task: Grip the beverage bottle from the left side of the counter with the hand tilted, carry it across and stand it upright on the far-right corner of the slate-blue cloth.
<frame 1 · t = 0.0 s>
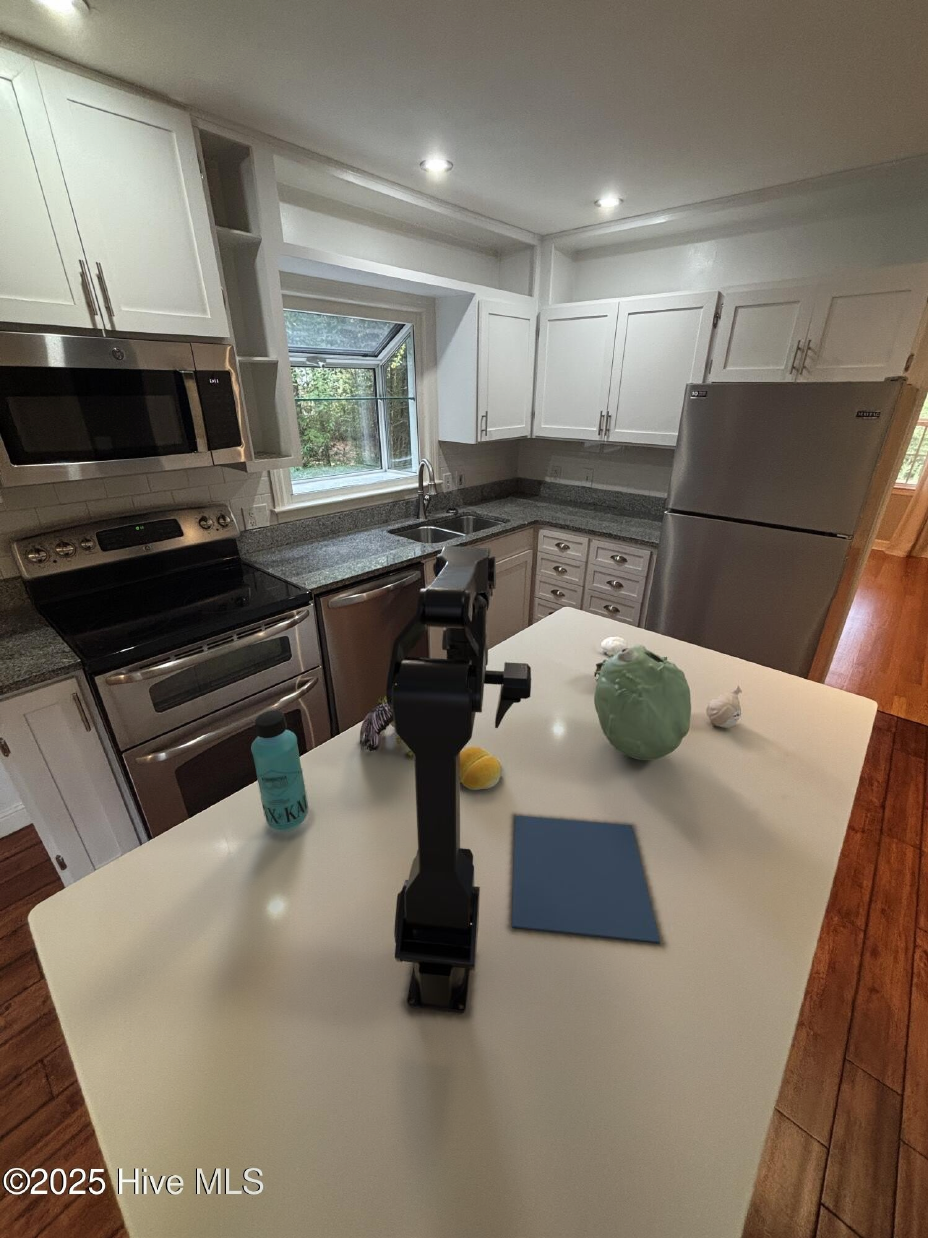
hand: (466, 724, 76), 15 cm above the counter, tool pointing down, fingers open, 9 cm apart
cabbage: (633, 749, 94), on the counter
decorative flower: (395, 746, 95), on the counter
pottery mug: (620, 689, 113), on the counter
beverage bottle: (289, 823, 78), on the counter
garlic bulb: (720, 724, 101), on the counter
cloth: (577, 871, 70), on the counter
bread roll: (475, 774, 88), on the counter
dumpling: (612, 653, 128), on the counter
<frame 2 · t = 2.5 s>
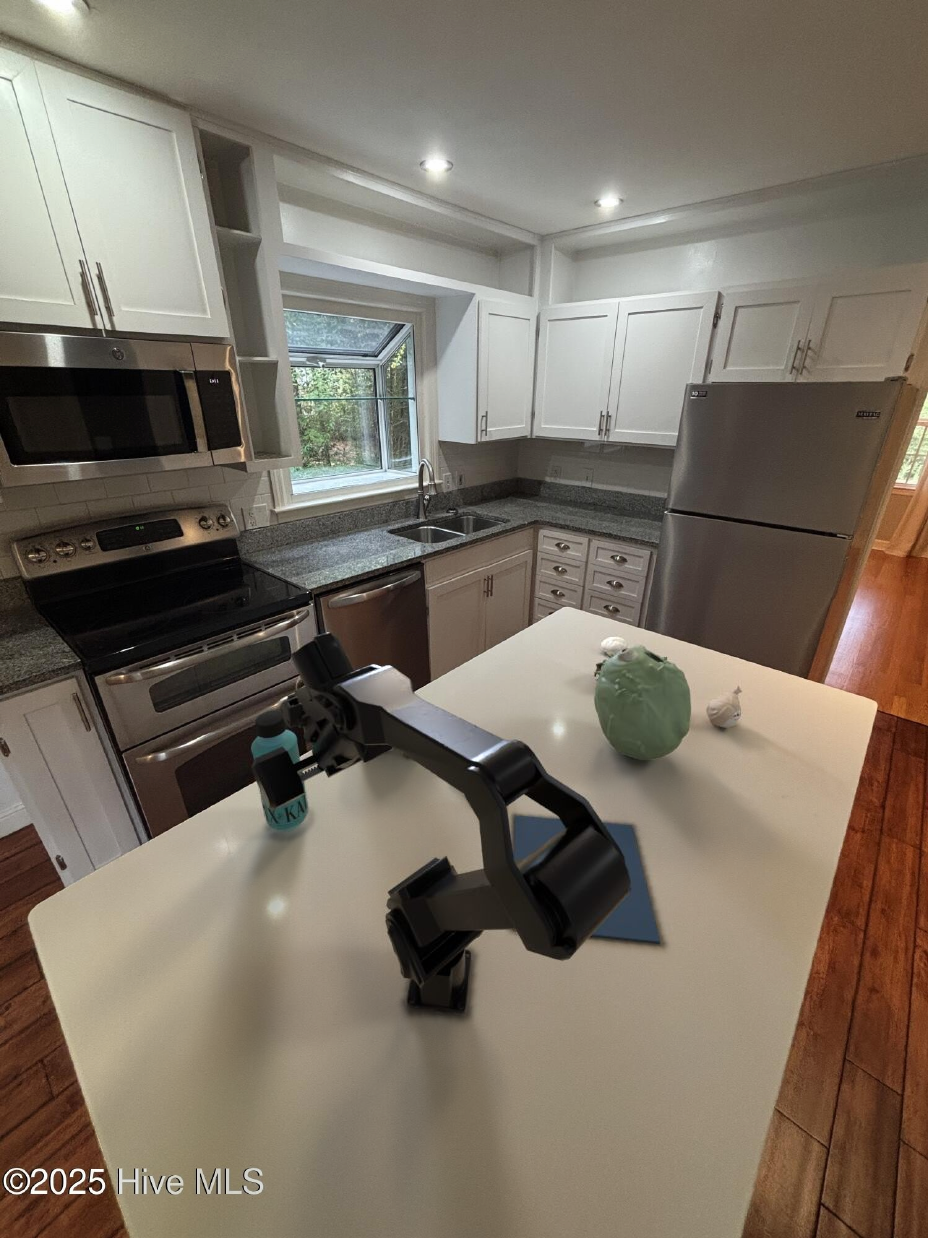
hand: (320, 769, 69), 14 cm above the counter, tool tilted 40°, fingers open, 9 cm apart
nothing on the counter moved.
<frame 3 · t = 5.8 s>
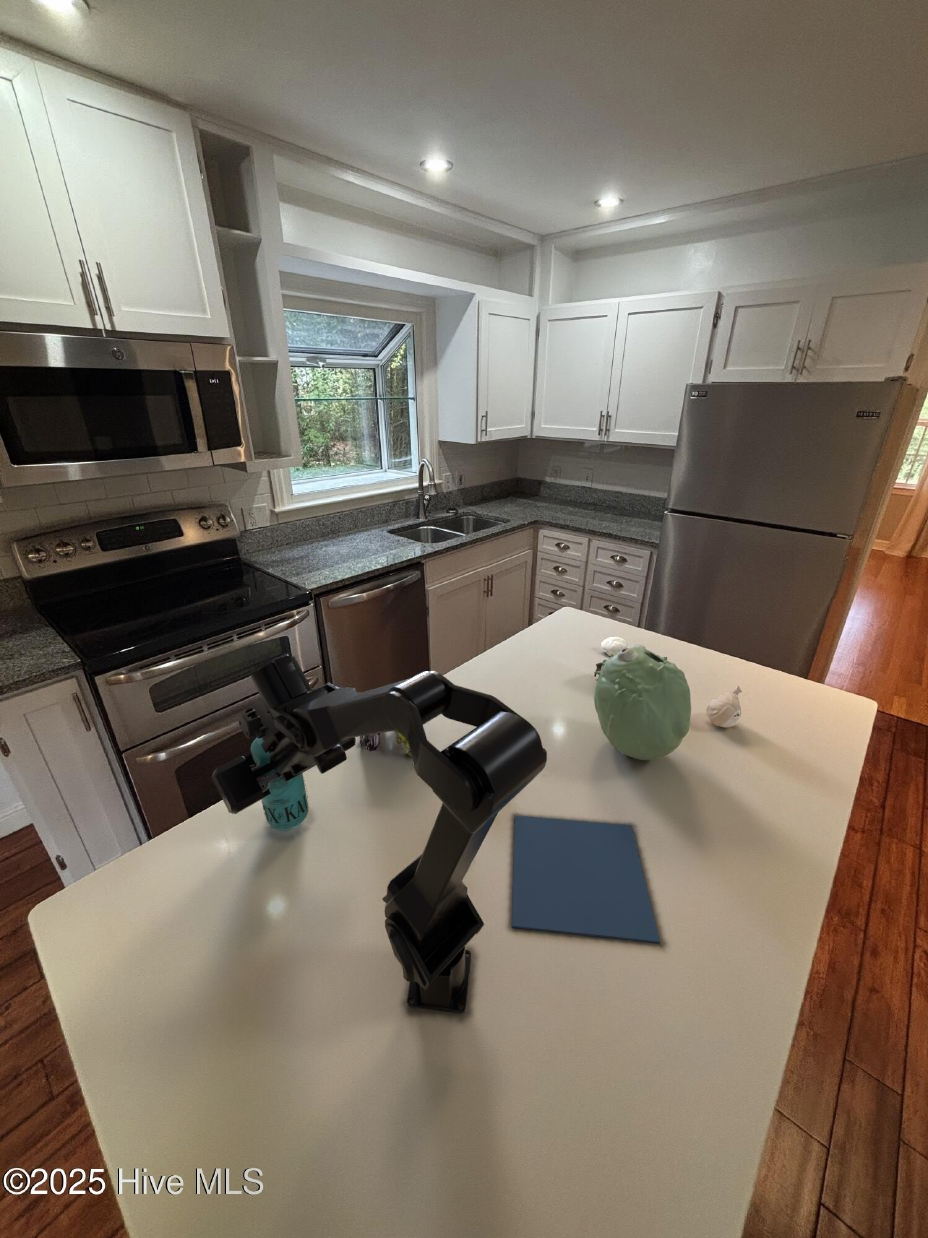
hand: (275, 770, 75), 10 cm above the counter, tool tilted 45°, fingers closed on beverage bottle, 6 cm apart
beverage bottle: (290, 823, 78), on the counter, touching gripper
everything else where it was.
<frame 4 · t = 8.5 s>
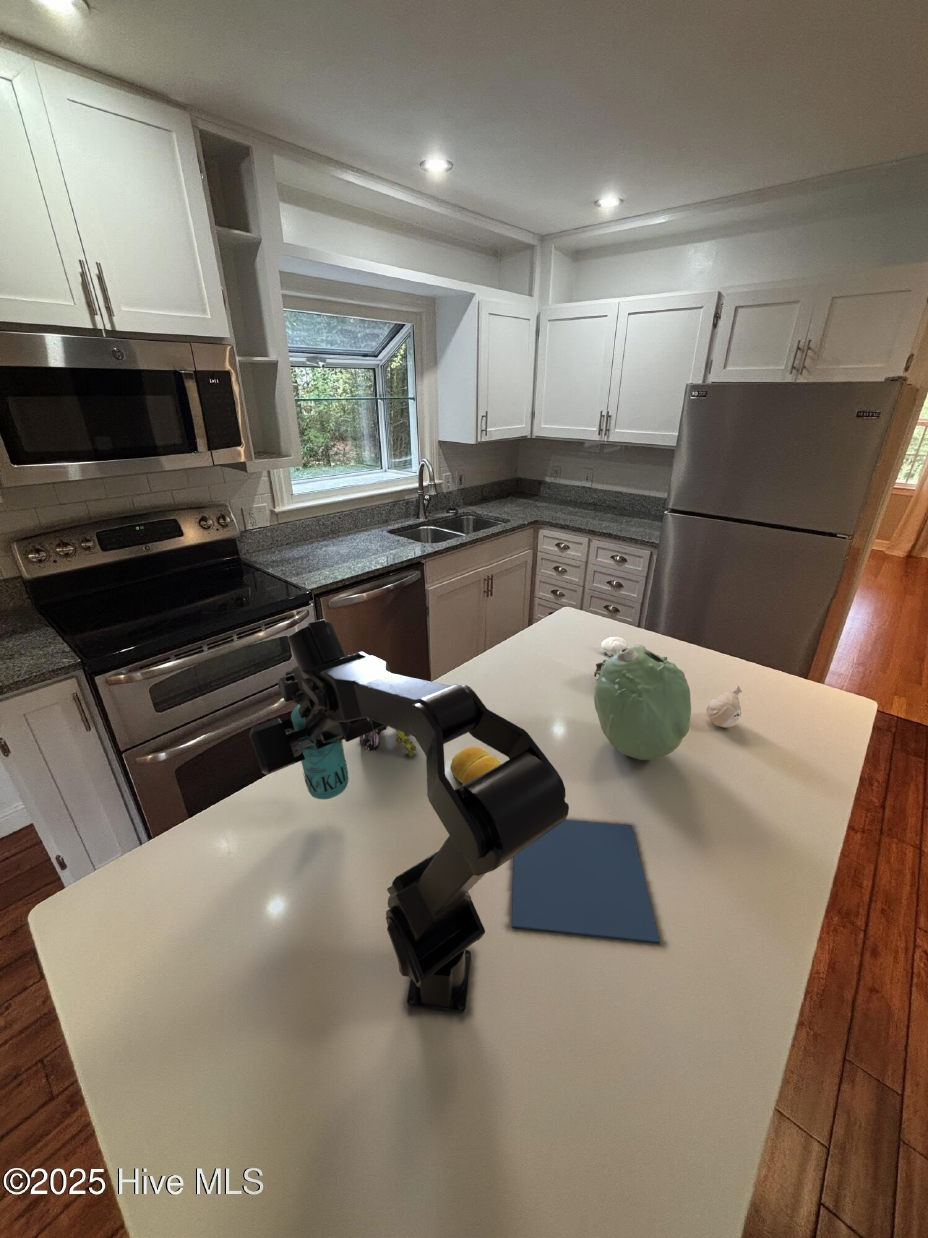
hand: (315, 739, 75), 13 cm above the counter, tool tilted 45°, fingers closed on beverage bottle, 6 cm apart
beverage bottle: (331, 793, 78), point 4 cm above the counter, touching gripper
everything else where it was.
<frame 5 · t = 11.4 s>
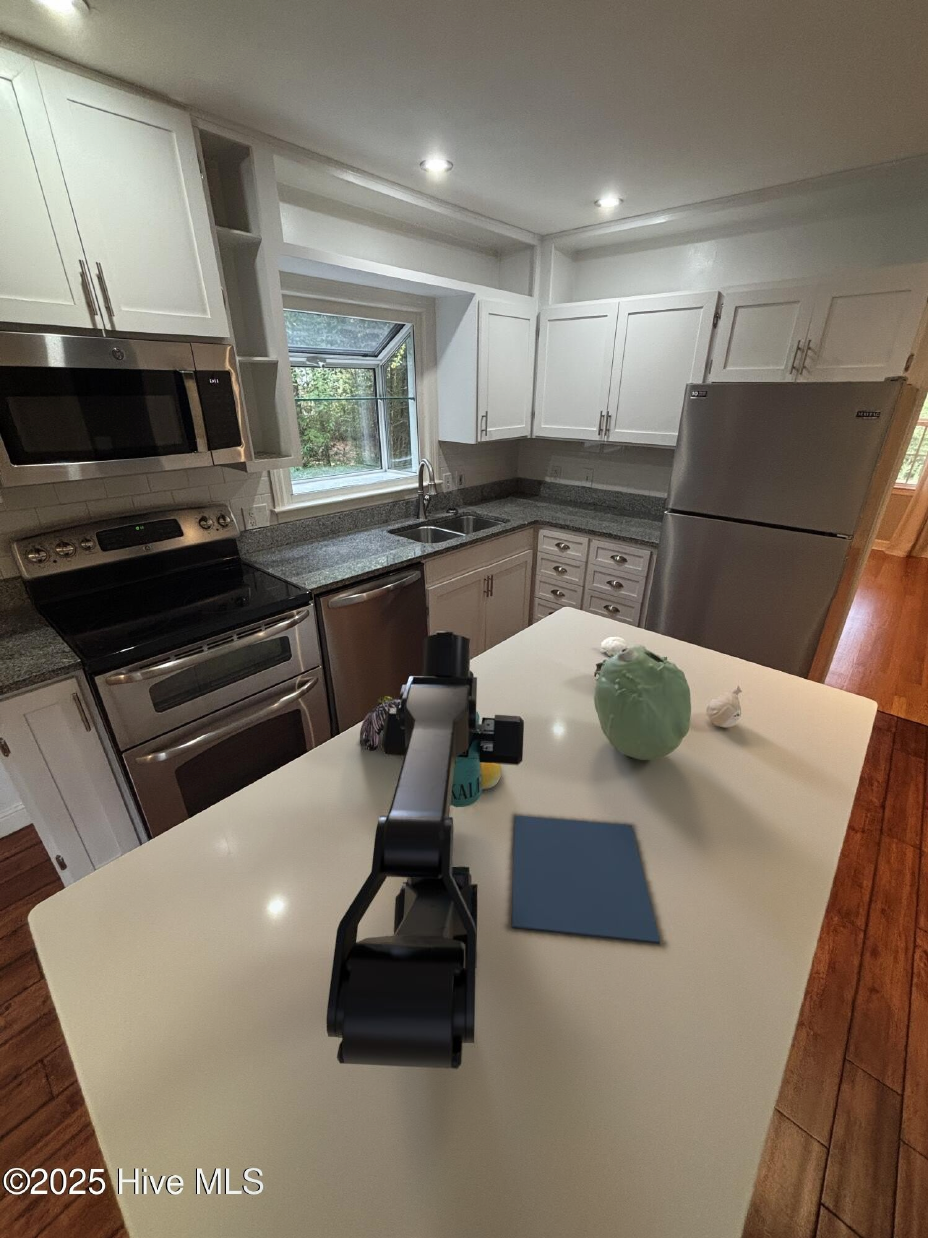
hand: (459, 744, 74), 13 cm above the counter, tool tilted 45°, fingers closed on beverage bottle, 6 cm apart
beverage bottle: (462, 801, 77), point 4 cm above the counter, touching gripper
everything else where it was.
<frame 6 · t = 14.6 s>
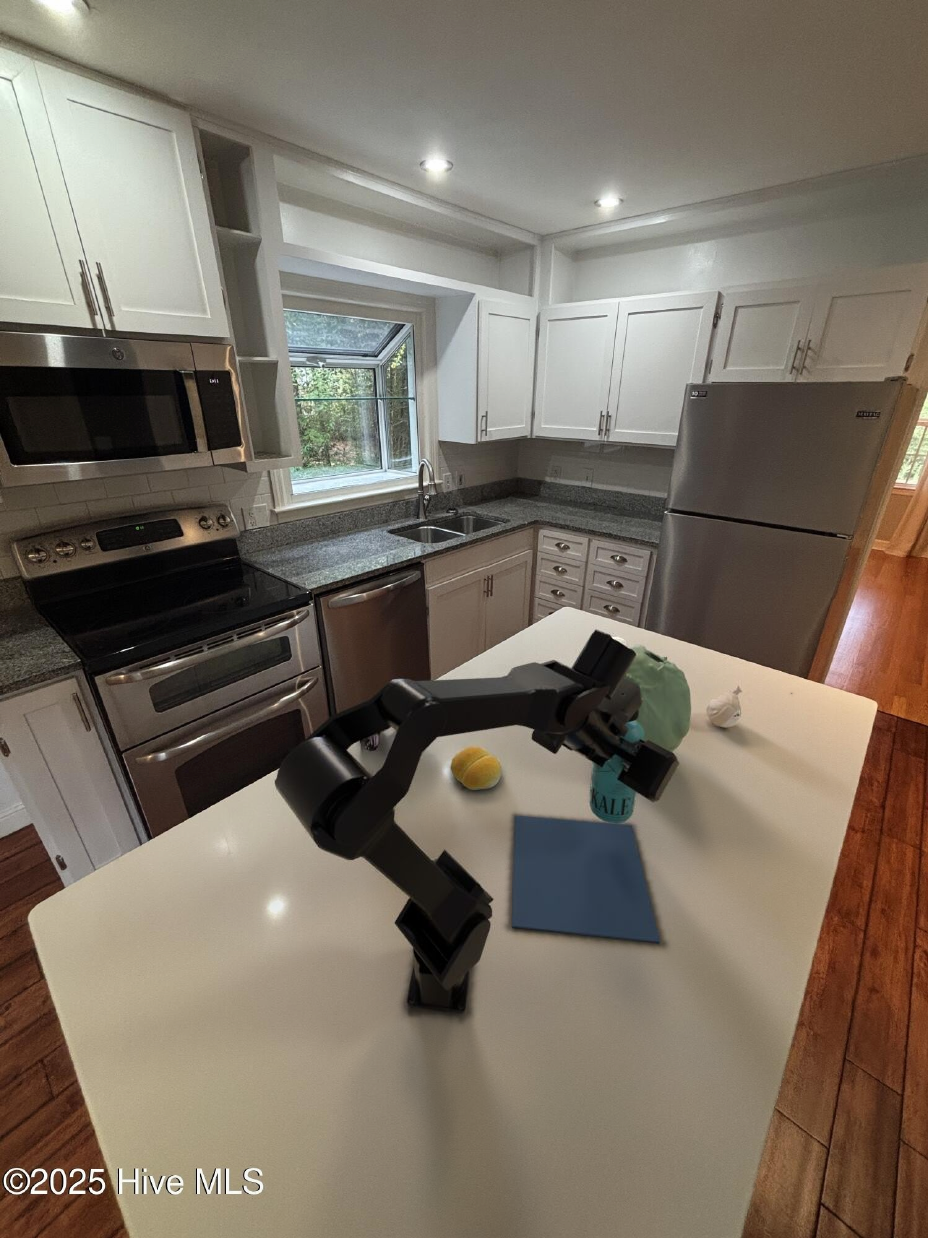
hand: (620, 758, 71), 13 cm above the counter, tool tilted 45°, fingers closed on beverage bottle, 6 cm apart
beverage bottle: (609, 817, 74), point 4 cm above the counter, touching gripper
everything else where it was.
when the fingers open (10 cm above the counter, at t = 17.2 s): beverage bottle stays where it is, resting on cloth.
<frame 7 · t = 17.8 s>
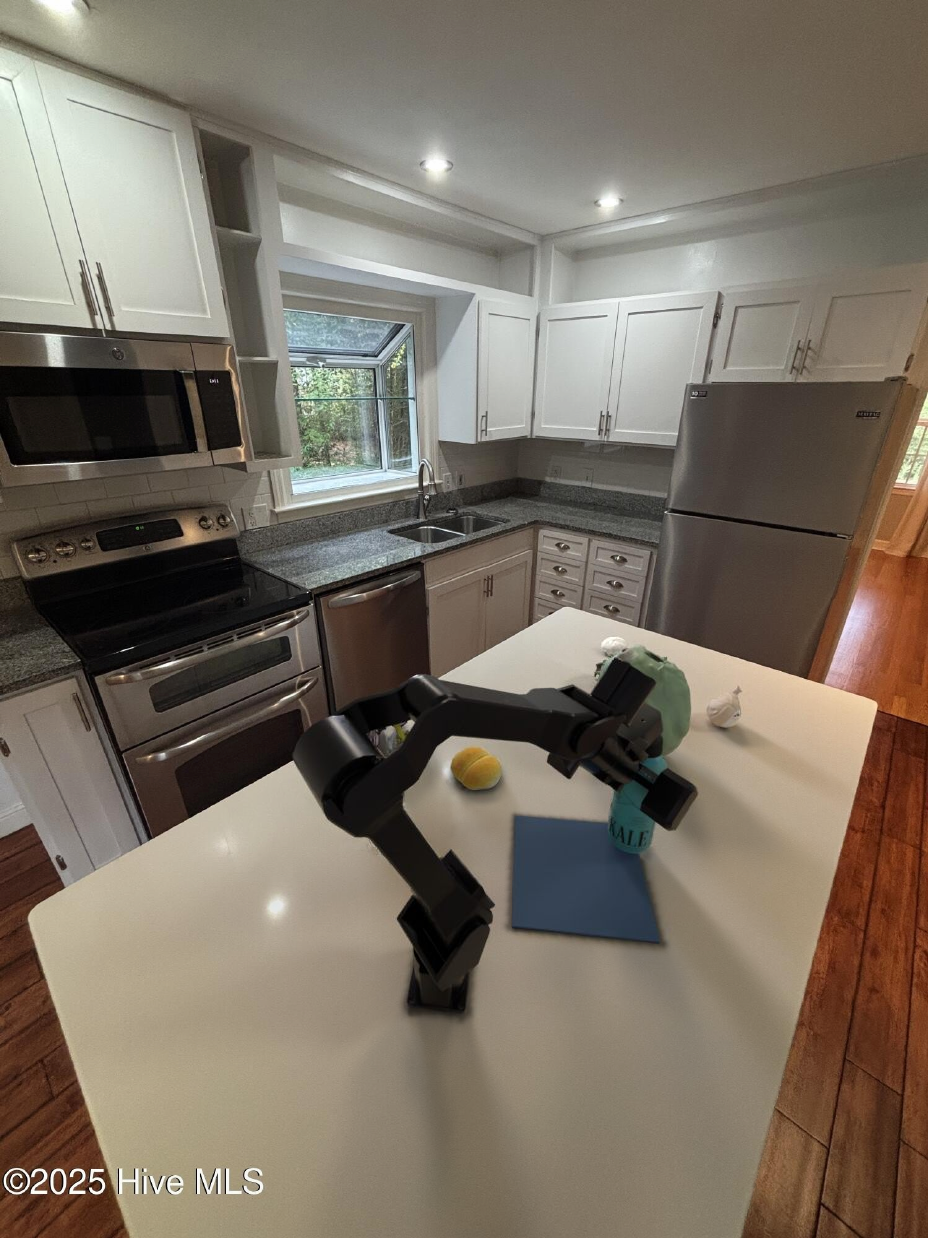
hand: (641, 782, 71), 11 cm above the counter, tool tilted 45°, fingers open, 9 cm apart
beverage bottle: (627, 845, 74), resting on cloth
everything else where it was.
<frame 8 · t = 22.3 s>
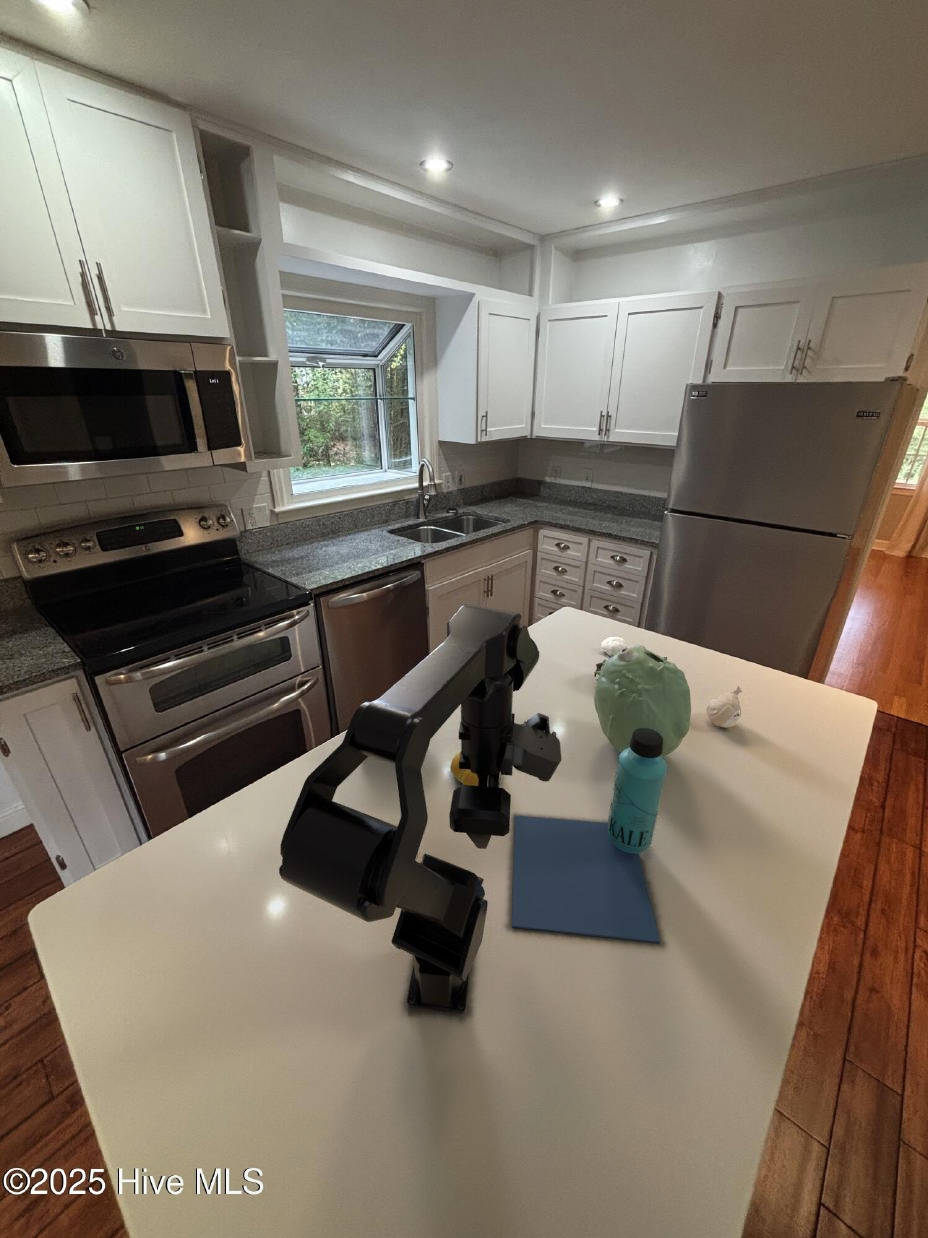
hand: (484, 817, 62), 13 cm above the counter, tool pointing down, fingers open, 9 cm apart
nothing on the counter moved.
at the end: beverage bottle inside the target area (3.0 cm from its centre), resting on cloth; beverage bottle tilted 0°; the gripper is holding nothing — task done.
